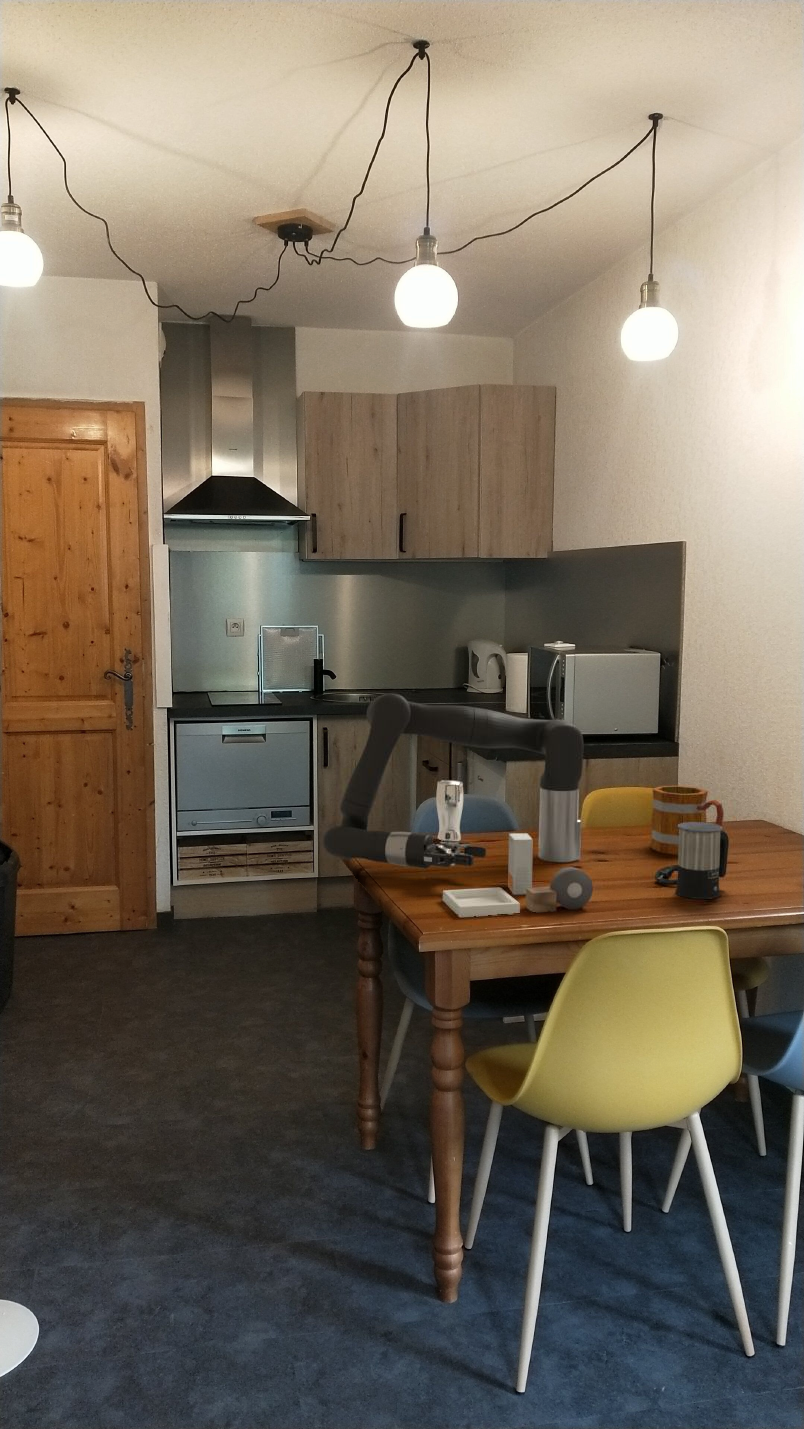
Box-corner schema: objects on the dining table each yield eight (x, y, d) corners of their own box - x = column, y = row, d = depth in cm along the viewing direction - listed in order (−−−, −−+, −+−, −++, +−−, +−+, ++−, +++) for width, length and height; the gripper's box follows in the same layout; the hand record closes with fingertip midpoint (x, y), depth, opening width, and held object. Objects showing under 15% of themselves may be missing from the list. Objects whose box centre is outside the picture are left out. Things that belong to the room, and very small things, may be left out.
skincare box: (507, 887, 238) (508, 833, 237) (526, 887, 239) (527, 833, 237) (512, 895, 232) (513, 839, 231) (532, 894, 233) (533, 839, 231)
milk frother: (712, 902, 228) (715, 832, 226) (639, 891, 236) (641, 823, 235) (731, 887, 240) (734, 821, 238) (661, 877, 248) (663, 812, 247)
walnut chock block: (548, 905, 224) (549, 886, 224) (556, 911, 220) (556, 891, 220) (525, 907, 223) (526, 887, 223) (532, 912, 219) (533, 893, 219)
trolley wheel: (585, 903, 226) (586, 865, 225) (592, 908, 222) (593, 870, 222) (549, 906, 224) (550, 867, 223) (555, 910, 221) (556, 872, 220)
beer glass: (465, 837, 287) (466, 781, 285) (458, 843, 280) (459, 785, 278) (440, 835, 289) (441, 779, 287) (432, 841, 282) (433, 783, 281)
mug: (639, 847, 278) (641, 788, 276) (673, 840, 286) (675, 783, 284) (702, 862, 262) (705, 800, 261) (737, 855, 270) (740, 795, 269)
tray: (499, 897, 230) (499, 887, 230) (519, 913, 218) (519, 903, 218) (442, 900, 227) (442, 890, 227) (459, 917, 215) (460, 907, 215)
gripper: (397, 839, 237) (468, 846, 231) (421, 826, 251) (489, 833, 244) (397, 873, 238) (468, 881, 232) (421, 859, 251) (489, 866, 245)
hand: (479, 856), depth 238 cm, fingers open, 8 cm apart
